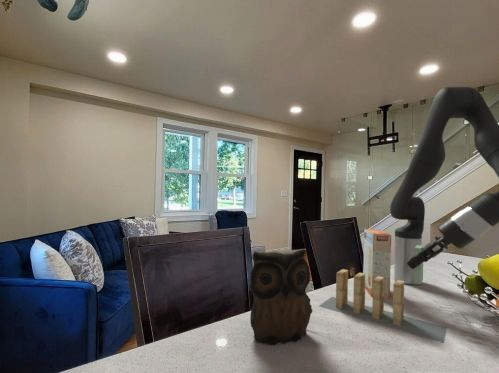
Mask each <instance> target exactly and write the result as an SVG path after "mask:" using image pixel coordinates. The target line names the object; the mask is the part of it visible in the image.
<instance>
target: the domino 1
mask: <svg viewBox="0 0 499 373" xmlns="http://www.w3.org/2000/svg"><path fill="white" fill-rule="evenodd" d="M335 276H336V278H335V279H336V281H335V283H336V284H335V286H336V287H335V298H336V308H340V309H342V308H343V307H344V306H345V305H347V302H348V301H349V300H348V298H349V297H348V294H349V287H348V286H349V270H348V269H344V268H343V269H342V268H341V269H340V270H339V271H337V272H336V275H335Z"/></svg>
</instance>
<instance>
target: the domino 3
mask: <svg viewBox="0 0 499 373" xmlns="http://www.w3.org/2000/svg"><path fill="white" fill-rule="evenodd" d="M384 303H385V299H384V277H380V276H377V277H376V278H375V279H374V280H373V297H372V305H371V307H372V318H375V319H378V320H379V319H380V317H381V316H382V315H383V314H384V311H385V310H384V306H385V304H384Z"/></svg>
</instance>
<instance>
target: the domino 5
mask: <svg viewBox="0 0 499 373" xmlns="http://www.w3.org/2000/svg"><path fill="white" fill-rule="evenodd" d="M424 247H425V245H422V246H420V245H417V246H416V247H415V248H414V257H415V256H417V255H418V253H420V252H422V251H423V248H424ZM423 281H424V262H423V263H421V264H420V265H418V266H417V267H415V268H414V283H415V284H419V285H421V284H422V283H423Z"/></svg>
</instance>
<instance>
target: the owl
mask: <svg viewBox="0 0 499 373" xmlns="http://www.w3.org/2000/svg"><path fill="white" fill-rule="evenodd" d="M306 252H307V250H306V249H305V248H303V249H302V248H301V249H281V250H279V249H278V250H271V251H260V252H259V251H256V250H255V251H253V253H252V258H251V259H252V262H253V266H252V269H251V271H250V277H249V278H250V280H249V281H250V284H249V287H250V290H251V292H252V295H253V303H252V307H251V311H250V317H249V318H250V321H249V322H250V326H251V329H252V331H253V333H254V334H253V338H254V341H255V342H256V343H260V344H263V345H267V346H268V345H269V346H276V345H278V344H283V345H284V344H285V345H286V344H288V343H290V342H294V343H297V342H298V341H300V340H301V339H302V338H303V337H304V336H305V335H306V334H307V329H308V326H309V323H310V320H311V315H312V314H313V308H312V305H311V298H310V297H309V296H308V294H307V292H306V290H307V287H308V286H309V284H310V282H311V280H310V279H311V272H310V267H309V264H308V262H307V260H306V258H305V255H306Z"/></svg>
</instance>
